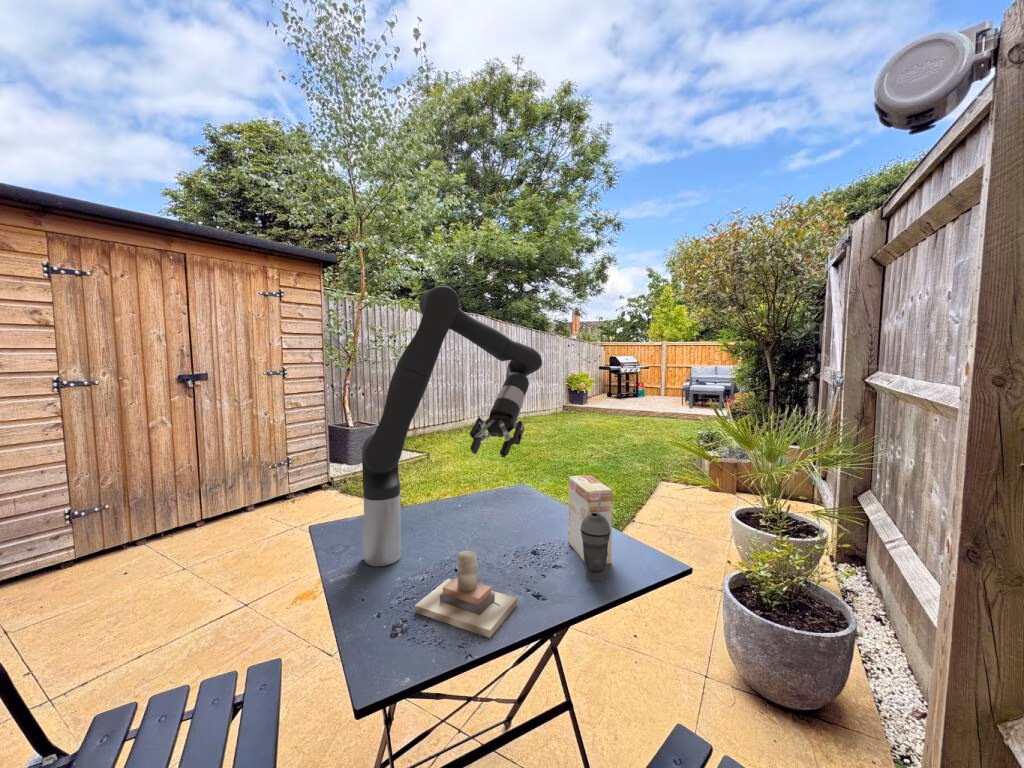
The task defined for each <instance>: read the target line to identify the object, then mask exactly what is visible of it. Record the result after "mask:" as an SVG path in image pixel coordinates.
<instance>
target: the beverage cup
mask: <svg viewBox="0 0 1024 768" xmlns="http://www.w3.org/2000/svg"><path fill="white" fill-rule="evenodd" d="M600 504H601V497H599V504H598V512H597V513H591V514H589V515H587V516H586V517H585V518H584V519H583V521H582V524H581V529H580V531H581V536H582V539H583V553H584V561H583V565H584V573H585V578H586V579H587V580H589V581H592V582H600V581H603V580H604V579H605V574H606V566H607V564H606V558H607V549H608V541H609V537H610V533H611V531H610V526H609V523H608V521H607V519H606V518H605V517H604V516H603V515H601V514H599V512H600Z"/></svg>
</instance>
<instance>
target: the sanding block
mask: <svg viewBox="0 0 1024 768" xmlns="http://www.w3.org/2000/svg"><path fill="white" fill-rule="evenodd" d="M477 560H478V559H477V553H476V552H475V551H472V550H463V551H460V552H459V553H457V576H455V577H454V578H453V579H452V581H450V582H449V583H448V584H446V585H445V586H444V587H443V592H442V593H441V594H440V602H443V603H446V604H449V605H452V606H455V607H458V608H460V609H463V610H466V611H469V612H472V613H475V614H478V615H480V614H481V613H482V612H483V611H484V610H485V609H486V608H487V607H488V606H489V605H490V604H491V603H492V602H493V601H494V600H495V593H493V592H491V591H492V586H489V585H488V584H487V585H486V584H483V583H480V582H478V580H477V579H478V577H477V575H478V574H477V570H478V569H477Z"/></svg>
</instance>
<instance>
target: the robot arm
mask: <svg viewBox="0 0 1024 768" xmlns="http://www.w3.org/2000/svg"><path fill="white" fill-rule="evenodd" d="M418 303H419V304H418V305H419V310H420V312H421V314H422V317H421V319H420V322H419V325H418V328H417V330H416V333H415V334H414V336H413V337H412V339H411V341H410V342H409V344H407V346H406V347H405V349H404V351H403V353H402V355H401V356H400V358H399V359H398V361H397V364H396V366H395V369H394V371H393V374H392V377H391V379H390V382H389V385H388V390H387V394H386V396H385V397H386V398H385V403H384V407H383V413H382V415H381V417H380V418H381V419H380V420H379V423H378V425H377V427H376V429H375V431H374V433H373V434H371V435H370V436H369V437H367V438H366V440H365V441H364V442H363V445H362V448H361V462H362V465H361V467H362V490H363V492H362V493H363V523H362V524H361V525H360V526H361V530H360V531H361V560H363V561H364V562H365V564H367V565H368V566H372V567H385V566H388V565H392V564H394V563H396V562H398V561H400V559H401V557H402V534H401V533H402V530H401V527H402V526H401V523H402V522H401V521H402V520H401V484H400V475H399V463H400V460H401V456H402V452H403V449H404V445H405V443H406V442H405V441H406V438H407V435H408V434H407V433H408V432H409V429H410V425H411V424H412V421H413V418H414V417H415V414H416V412H417V410H418V408H419V405H420V404H421V402H422V399H423V396H425V395H424V394H425V392H426V390H427V387H428V385H429V382H430V380H431V377H432V373H433V371H434V368H435V365H436V362H437V360H438V357H439V354H440V351H441V348H442V345H443V342H444V340H445V339H446V336H447V334H448V332H449V330H451V331H453V332H455V333H456V334H458V335H461V336H462V337H464V338H465V339H467V340H468V341H470V342H471V343H472V344H475V345H476V346H477V347H478V348H480V349H481V350H483V351H485V352H486V353H488V354H489V355H491V356H492V357H494V358H495V359H497V360H499V361H501V362H507V361H509V362H508V364H507V369H506V375H505V377H506V378H505V381H504V382H503V385H502V387H501V389H500V391H498V394H497V396H496V397H495V398H496V399H495V401H494V403H493V405H492V407H491V410H490V412H489V417H487V419H486V420H485V419H482V418H481V417H478V418H477V419H476V420H475V422H474V425H473V426H472V428H471V430H470V432H469V436H470V437H471V438H472V443H471V445H470V447H469V448H470V451H471V452H472V454H473V455H477V453H478V451H479V448H480V447H481V446H482V445H481V444H482V442H483V441H484V440H486V439H489V438H491V437H493V438H495V437H498V438H503V437H504V439H505V441H503V443H502V446H501V449H500V451H499V455H500V457H501V458H506V457H507V456H508V455H509V452H510V450H511V448H512V446H513V445H520V444H521V440H522V437H523V435H524V431H525V425H524V424H523V422H522V420H518V418H519V414H520V412H521V409H522V408H523V403H524V400H525V398H526V397H525V396H526V393H527V392H528V389H529V387H530V386H529V385H530V382H529V378H528V377H527V376H529V375H532V374H533V373H535V372H537V371H538V370H539V369H540V368H541V367H542V365H543V359H542V357H541V355H540V353H539V352H538V351H537V350H536V349H535V348H532V347H531V346H529V345H526V344H524V343H521V342H518V341H515V340H512V339H511V338H510V337H508V336H507V335H505V334H504V333H502V332H501V331H500V330H498V329H496V328H495V327H493V326H491V325H489V324H487V323H485V322H482V321H481V320H478V319H476V318H474V317H473V316H471V315H470V314H468V313H466V312H465V311H463V310H462V309H460V299H459V295H458V293H457V291H455V290H454V289H453V288H452V287H450V286H449V285H439V286H435V287H433V288H430V289H428V290H426V291H425V292H424V293H422V294H421V296H420V298H419V302H418ZM517 420H518V421H517ZM513 430H514V432H513V436H512V437H511V435H510V434H511V433H510V432H511V431H513Z"/></svg>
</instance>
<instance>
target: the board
mask: <svg viewBox="0 0 1024 768" xmlns="http://www.w3.org/2000/svg"><path fill="white" fill-rule="evenodd" d="M452 580H453V579H452V578H447V579H446V580H444V581H443V582H442V583H441V584H439V585H438V586H437V587H436V588H435V589H433V590H432V591H431V592H429V594H428V593H427V595H426V596H424V597H423V598H422V599H421V600H420V601H419V602H417V603H416V604H414V613H416V614H419V615H422V616H424V617H428V618H430V619H433V620H435V621H439V622H442V623H444V624H445V623H446V624H447V625H451V626H453V627H456V628H459V629H463V630H466V631H469V632H471V633H474V634H477V635H480V636H483V637H486V638H491V637H492V636H493V635H494V634H495V632H496V631H497V630H498V629H499V628H500V626H501V625H502V624H503V623H504V622H505V620H507V618H508V616H509V615H510V614H511V613H512V612H513V610H514V609H515V608H516V606H517V605H518V597H517V596H511V595H508V594H505V593H501V592H498V591H493V590H491V592H493V593H495V600H494V601H493V602H492V603H491V604H490V605H489V606H488V607H487V608H486V609H485V610H484V611H483V612H482V613H481V614H480V615H478V614H475V613H472V612H469V611H466V610H463V609H460V608H458V607H455V606H452V605H449V604H446V603H443V602H440V594H441V593H442V592H443V587H444V586H445V585H446V584H448V583H449V582H450V581H452Z"/></svg>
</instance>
